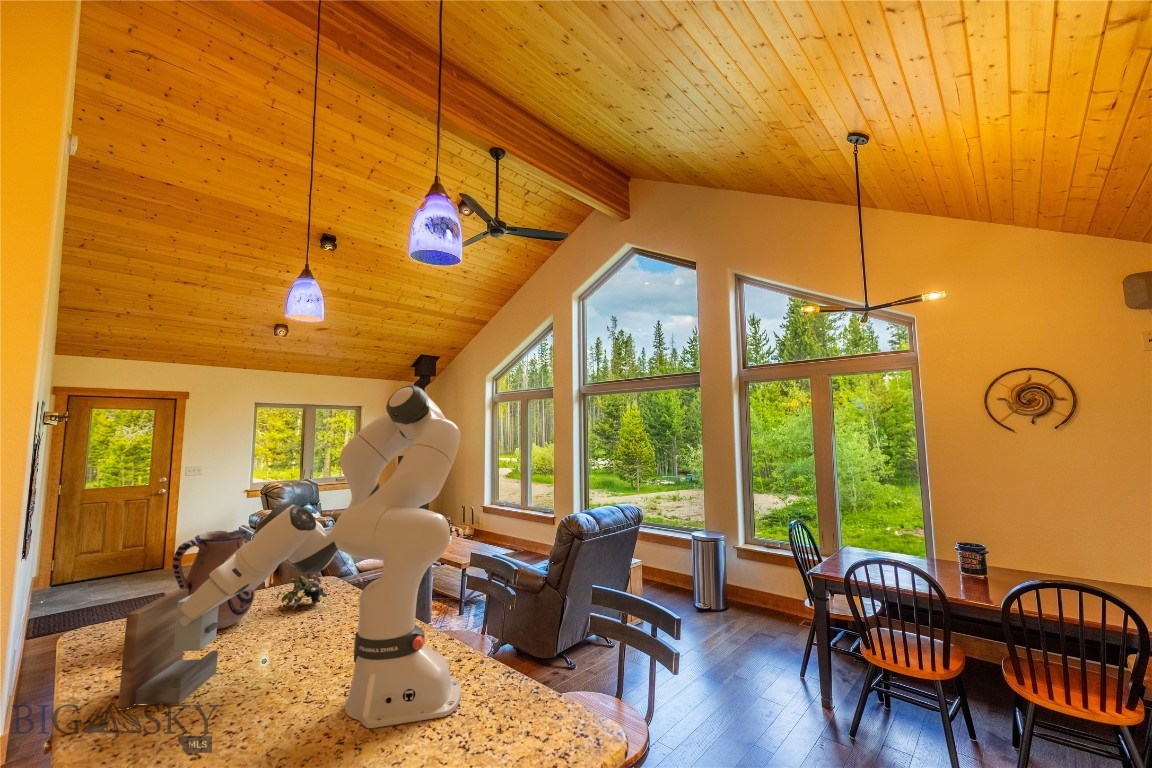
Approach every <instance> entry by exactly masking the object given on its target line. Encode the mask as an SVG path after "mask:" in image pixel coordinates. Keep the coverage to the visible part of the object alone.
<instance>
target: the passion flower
mask: <svg viewBox="0 0 1152 768" xmlns="http://www.w3.org/2000/svg"><path fill="white" fill-rule="evenodd" d="M309 575H310V576H309V577H310V578H312V579H311V580H310V578H308V577H304V576H303V575H299V577H298V578H297V579H298V580H296V579H294V578H291V579H290V581H291V583H292V584H293V585H294V586H293V588H292V590H291V591H288V592H287V593H286V594H284V593H282V592H281V591H278V593H277V595H276V599H279V596H280V595H281V596H282V597H281V600H280V601H281V603H284V602H285V601H286V603H285V606H286V607H287V606H288V605H290V604H291V603H292V602H293V601H294V602H293V608H292V610H291V612H294V609H296V607H297V606H298V605H299V603H301V601H302V599H303V598H304V597H306V598H310V599H311V603H313V604H317V603H320V602H321V600H320V596H322V597H323V598H326V597H328V594H327V593H325V590H324V587H323V586H320V584H321V582H322V579H321V578H319V576H316V575H315V574H309ZM301 591H303V593H302V594H301V595H300V596H299V595H298V594H299V593H300V592H301Z"/></svg>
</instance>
